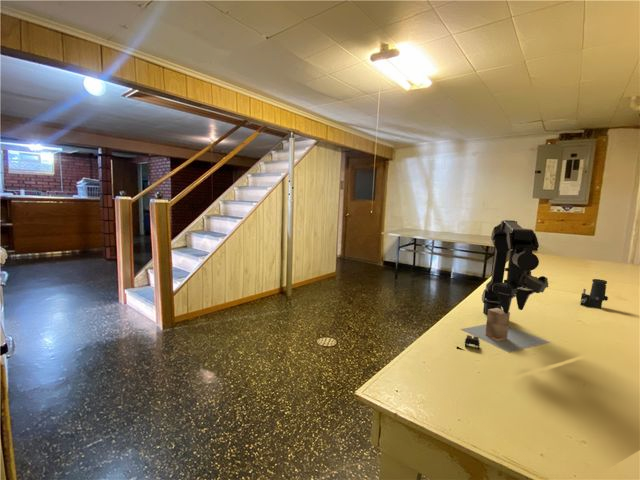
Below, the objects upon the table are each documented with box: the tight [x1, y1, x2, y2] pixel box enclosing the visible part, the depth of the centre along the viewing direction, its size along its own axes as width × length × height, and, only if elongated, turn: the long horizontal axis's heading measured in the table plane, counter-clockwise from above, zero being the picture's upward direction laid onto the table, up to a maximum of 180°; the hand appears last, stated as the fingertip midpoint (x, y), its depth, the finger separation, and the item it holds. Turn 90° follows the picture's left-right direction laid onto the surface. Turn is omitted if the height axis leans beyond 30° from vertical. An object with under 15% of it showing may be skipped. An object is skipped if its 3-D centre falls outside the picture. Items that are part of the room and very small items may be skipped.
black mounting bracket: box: [456, 334, 481, 351], centre depth 106 cm, size 12×7×5 cm, turn 62°
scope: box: [580, 278, 609, 310], centre depth 156 cm, size 8×14×10 cm
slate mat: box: [460, 323, 550, 353], centre depth 117 cm, size 20×22×1 cm
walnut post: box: [485, 308, 511, 341], centre depth 114 cm, size 5×5×10 cm
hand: (513, 311), depth 106 cm, fingers open, 9 cm apart
